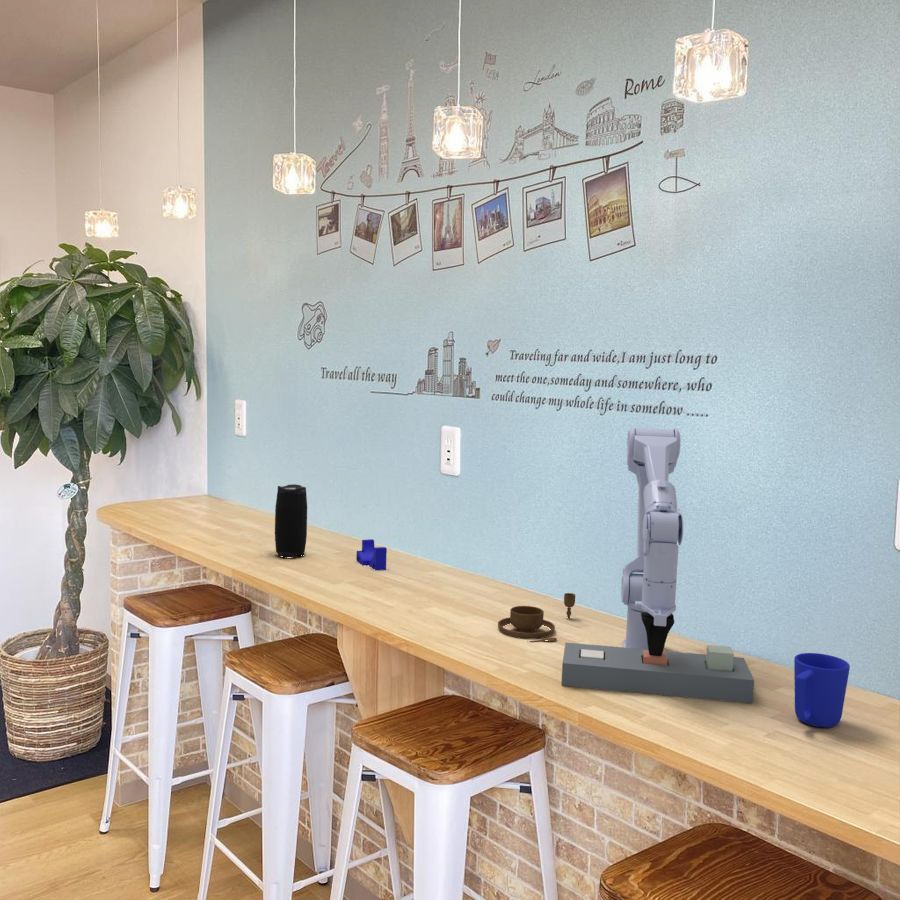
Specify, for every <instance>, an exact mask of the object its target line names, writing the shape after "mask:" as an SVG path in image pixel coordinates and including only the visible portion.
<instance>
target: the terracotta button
mask: <svg viewBox="0 0 900 900" xmlns="http://www.w3.org/2000/svg"><path fill="white" fill-rule="evenodd" d="M667 661H668V659H667V654H666V652H663V653H662V656H653V655H649V650H643V663H644V664H655V665H666V666H667Z"/></svg>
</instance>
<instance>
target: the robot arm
mask: <svg viewBox="0 0 900 900" xmlns="http://www.w3.org/2000/svg"><path fill="white" fill-rule="evenodd" d="M626 439H627V440H626V453H627V454H626V465H627V470H628V471H629V472H630V473H633V474H634V475H635V477H636V482H637V484H638V492H637V493H638V496H637V497H638V499H637V501H638V503H637V504H638V505H637V506H638V507H637V543H636V544H637V549H636V550H637V551H636V552H637V553H636V554H637V555H636V556H635V557H633V559H631V560H630V561H628V562H627V563H625V564H624V567H623V568H622V577H621V587H620V589H621V590H620V598H621V599H620V600H621V602H622V603H623V605H626V606H627V610H626V611H627V614H626V615H627V616H626V617H627V618H626V629H625V631H626V634H625V639H622V647H624V648H636V649H648V650H649V655H653V656H662V653H663V651H666V650H665V645H666V641H667V638H668V635H669V633H670V631H671V630H672V627H673V626H674V625H675V618H674V616H675V615H674V612H675V611H676V610H677V605H676V596H677V595H676V594H677V593H676V592H677V579H678V577H677V576H678V562H679V561H678V560H679V546H681V545H682V541H683V538H684V517H683V513H682V512H681V509H680V508H678V501H677V491H676V488H675V485H674V484H673V483H671V482H670V481H669V475H670V474H672V473H674V471H675V468H676V466H677V463H678V459H679V457H680V452H681V433H680V431H679V430H678V429H677V428H672V429H667V428H665V429H664V428H648V427H647V428H644V427H634V426H631V427H630V428H629V429H628V433H627V438H626Z"/></svg>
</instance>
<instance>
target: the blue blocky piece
mask: <svg viewBox="0 0 900 900" xmlns="http://www.w3.org/2000/svg"><path fill="white" fill-rule="evenodd" d="M387 548H388V547H386V546H375V539H373V538H372V539H371V538H370V539H369V538H368V539H362V540H361V550H356V557H355V558H356V560H357V561H358V562H357V561H356V562H357V563H359V564H360V565H361V564H362V566H363V565H366V566H368V565H369V566H368V567H370V568H371V567H372V568H371V569H373V570H374V569H375V570H374V571H386V570H387V552H388V551H387V550H388V549H387Z"/></svg>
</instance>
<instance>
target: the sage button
mask: <svg viewBox="0 0 900 900" xmlns="http://www.w3.org/2000/svg"><path fill="white" fill-rule="evenodd" d="M733 657H735V656H734V651H733V649H732V647H731V646H726V645H725V646H724V645H723V646H722V645H713V644H707V645H706V668H707V669H712V670H723V671H733Z"/></svg>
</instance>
